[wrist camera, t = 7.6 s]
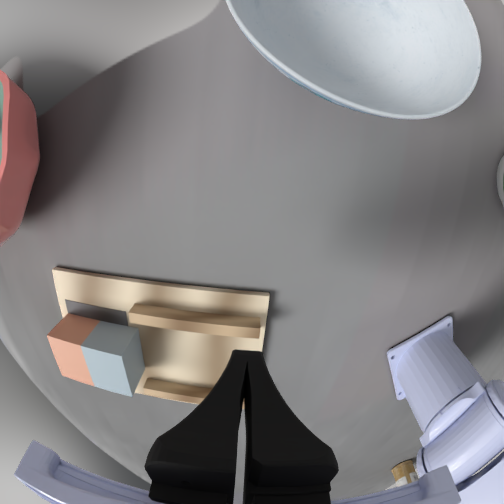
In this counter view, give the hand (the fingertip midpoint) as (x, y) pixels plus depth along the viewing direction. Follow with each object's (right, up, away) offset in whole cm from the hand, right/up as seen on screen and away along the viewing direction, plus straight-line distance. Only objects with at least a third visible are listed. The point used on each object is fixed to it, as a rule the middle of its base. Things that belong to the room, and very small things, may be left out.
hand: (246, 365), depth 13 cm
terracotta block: (-16, -3, +10) cm, 19 cm away
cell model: (-23, +14, +5) cm, 28 cm away
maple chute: (-9, -3, +11) cm, 15 cm away
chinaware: (+6, +21, +2) cm, 22 cm away
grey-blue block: (-12, -3, +11) cm, 16 cm away
